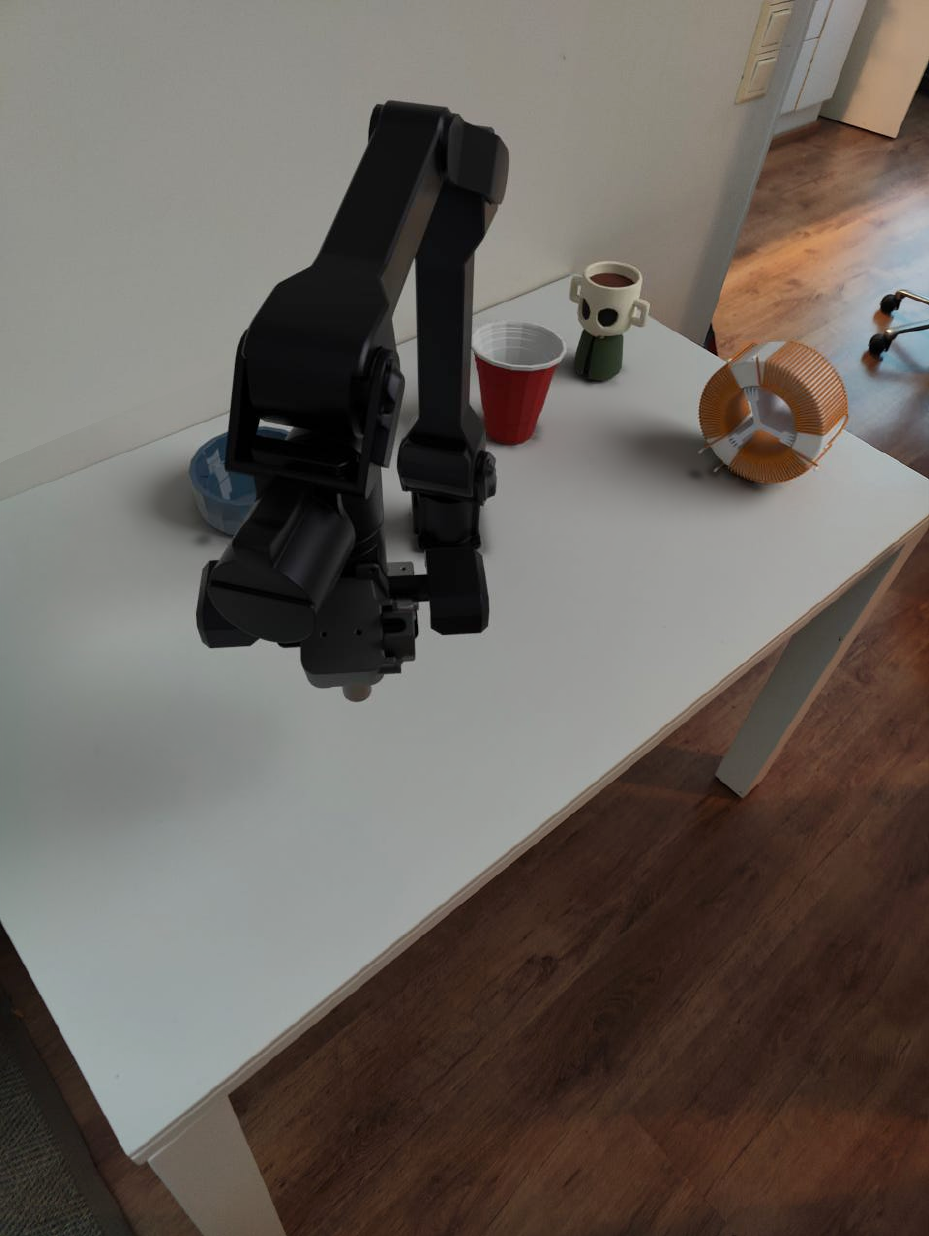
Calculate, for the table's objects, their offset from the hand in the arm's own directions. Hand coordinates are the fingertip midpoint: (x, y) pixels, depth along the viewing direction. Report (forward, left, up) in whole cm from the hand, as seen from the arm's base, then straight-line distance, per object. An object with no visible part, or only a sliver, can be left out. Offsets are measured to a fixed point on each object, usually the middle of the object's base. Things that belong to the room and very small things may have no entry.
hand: (354, 670), depth 61 cm
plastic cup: (-18, -43, -11) cm, 48 cm away
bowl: (+11, -32, -11) cm, 36 cm away
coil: (-45, -34, -11) cm, 58 cm away
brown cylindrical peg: (0, 0, -2) cm, 2 cm away
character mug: (-31, -55, -11) cm, 64 cm away
